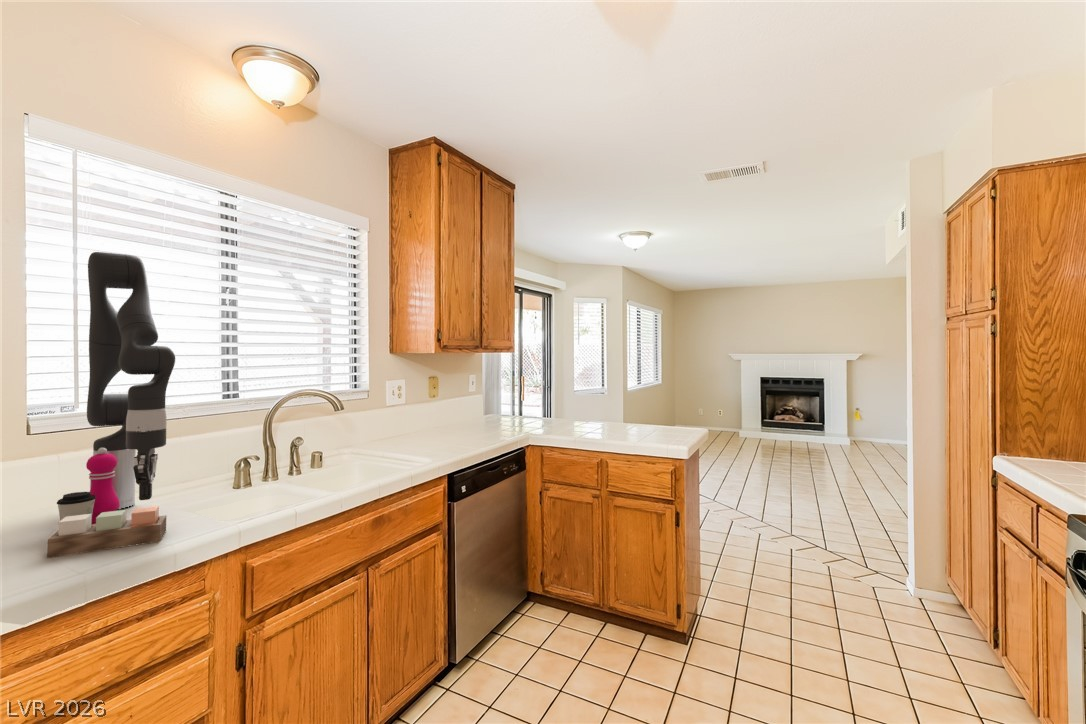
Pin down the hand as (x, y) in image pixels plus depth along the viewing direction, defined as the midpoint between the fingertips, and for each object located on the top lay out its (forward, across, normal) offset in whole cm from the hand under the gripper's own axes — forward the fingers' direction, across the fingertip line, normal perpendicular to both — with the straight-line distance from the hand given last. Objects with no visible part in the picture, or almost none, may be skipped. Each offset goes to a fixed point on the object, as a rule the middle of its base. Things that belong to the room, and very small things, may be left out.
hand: (145, 499), depth 114 cm
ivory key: (+7, 0, -12) cm, 14 cm away
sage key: (+7, 0, -6) cm, 9 cm away
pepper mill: (+10, -19, -12) cm, 25 cm away
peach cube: (+7, 0, 0) cm, 7 cm away
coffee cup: (+10, -11, -15) cm, 21 cm away
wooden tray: (+10, 0, -6) cm, 11 cm away
